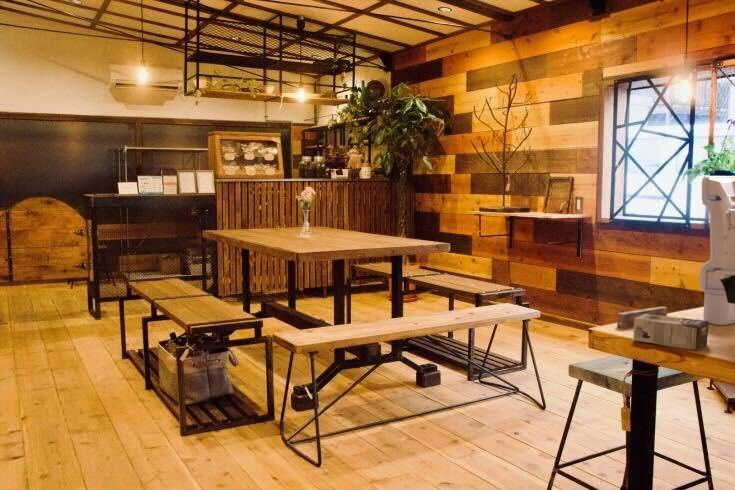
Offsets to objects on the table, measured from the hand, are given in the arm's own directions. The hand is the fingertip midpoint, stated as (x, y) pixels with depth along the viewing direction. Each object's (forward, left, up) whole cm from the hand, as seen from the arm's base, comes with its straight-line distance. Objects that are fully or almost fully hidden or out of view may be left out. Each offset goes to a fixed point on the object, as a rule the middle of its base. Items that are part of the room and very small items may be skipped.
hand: (732, 303), depth 181 cm
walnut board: (+7, -23, -9) cm, 26 cm away
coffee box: (+23, -12, -6) cm, 27 cm away
